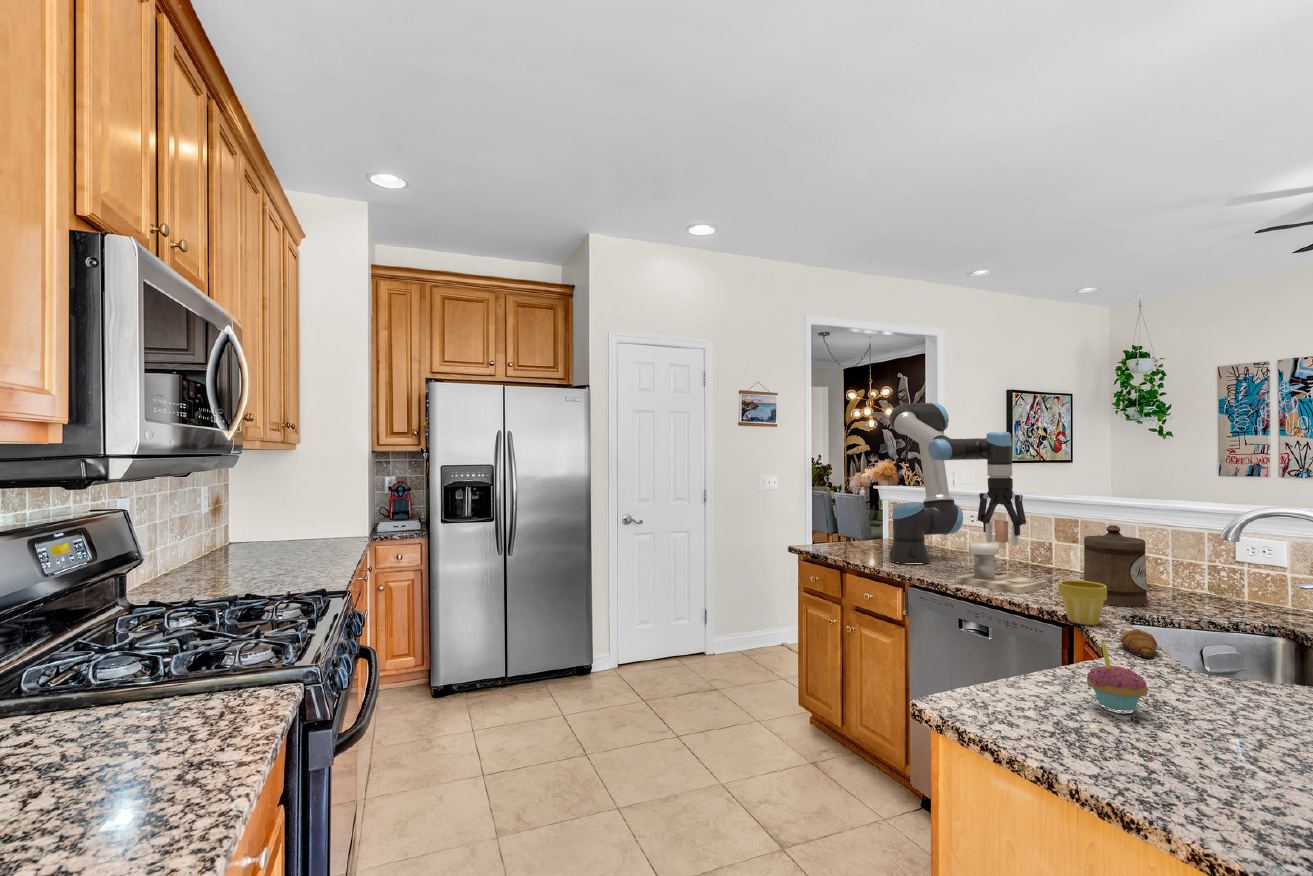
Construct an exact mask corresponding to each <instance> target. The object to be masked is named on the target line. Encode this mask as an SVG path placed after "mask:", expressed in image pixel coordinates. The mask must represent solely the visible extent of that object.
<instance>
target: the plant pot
mask: <svg viewBox="0 0 1313 876" xmlns="http://www.w3.org/2000/svg"><path fill="white" fill-rule="evenodd" d="M1058 595H1059V596H1061V598H1062V601H1063V606H1064V610H1065V614H1066V617H1067V620H1068V621H1069V622H1072V623H1073V624H1078V625H1086V626H1095V625H1098V624H1100V619H1101V615H1102V611H1103V606H1104V604H1103V603H1104V600H1106V599H1107V586H1106V585H1104V584H1100V583H1095V582H1089V581H1084V580H1077V579H1076V580H1075V579H1071V580H1069V579H1065V580H1060V581H1058Z"/></svg>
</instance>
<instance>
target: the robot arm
mask: <svg viewBox="0 0 1313 876" xmlns="http://www.w3.org/2000/svg"><path fill="white" fill-rule="evenodd" d="M949 419H950V418H949V413H948V412H947V409H946V408H945V407H944V405H942V404H940V403H935V402H934V403H932V402H928V403H927V402H925V403H922V402H921V403H919V402H918V403H902V404H898V405H897V406H896V407H894V408H893V409H892V410H891V412H890V414H889V418H888V422H889V425H890V427H891V429H893V430H894V431H895V432H896V433H897V434H900V435H904V436H905V435H906V436H907V437H909V438H910V439H911V440H913V441H914V442H916V443H918V446H919V452H920V461H921V468H922V476H923V484H924V491H925V499H924V500H923V501H922V502H921V501H914V502H913V501H911V502H909V501H908V502H904V503H903V502H902V503H899V504H895V505H894V506H893V508H892V515H891V517H892V536H893V537H892V539H893V540H892V545H891V548H890V552H889V555H888V560H889V559H890V560H891V561H894V562H899V563H929V562H930V563H931V557H930V554H929V551H928V549H927V545H926V541H925V540H926V539H925V535H926V536H932V535H944V536H945V535H950V534H953V535H954V534H956V533H958V532H959V530H960V529H961V528H962V526H963V522H964V513H963V510H962V509H961V507H960V506H959V505H958V504H956V503H955V499H954V498H953V497H952V496H950V492H949V485H948V477H947V471H946V463H945V461H961V460H962V461H969V460H970V461H971V460H972V461H973V460H974V461H975V460H976V461H978V460H979V461H980V460H987V461H986V462H987V463H986V465H987V466H986V467H987V469H986V470H987V471H986V472H987V474H986V475H987V476H988V478H987V490H988V491H987V492H980V493H979V495H978V497H979V506H978V513H977V518H976V520H977V521H979V522H981V523H983V524H982V525H983V531H982V532H983V533H985V542H993V523H991V519H992V517H993V515H994V513H995V510H996V507H997V506H998V505H1001V506H1003V507H1004V508H1005V509H1006V511H1007V514H1008V516H1009V518H1010V521H1011V522H1012V525H1010V538H1011V542H1010V543H1011V547H1012V546H1013V547H1015V546H1018V545H1019V537H1020V536H1021V527H1022V525H1026V524H1027V519H1026V514H1025V510H1024V504H1023V495H1022V494H1018V493H1017V494H1016V493H1014V491H1013V489H1014V487H1013V484H1014V482H1013V481H1014V480H1013V478H1012V477H1013V443H1012V435H1011V433H1010V432H1009V431H992V432H987V433H986V438H983V437H982V438H979V437H977V438H975V437H974V438H950V437H948V436H946V435H945V431H946V430H947V428H948V427H949V423H950V420H949ZM988 499H989V500H990V501H989V502H988ZM1012 500H1014V504H1013V501H1012ZM987 504H988V507H987ZM1014 507H1015V508H1014ZM930 563H929V564H930Z"/></svg>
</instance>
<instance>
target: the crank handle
mask: <svg viewBox="0 0 1313 876" xmlns="http://www.w3.org/2000/svg"><path fill="white" fill-rule="evenodd" d="M1009 539H1010V538H1009V520H1001V519H999V520H997V519H996V520H994V540H995V541H992V542H986V541H970V542H968V553H969V554H972V555H974V554H980V555H994V556H995V555H999V554H1000V549H1004V548H1006V543H1009V542H1010V541H1009Z"/></svg>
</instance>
